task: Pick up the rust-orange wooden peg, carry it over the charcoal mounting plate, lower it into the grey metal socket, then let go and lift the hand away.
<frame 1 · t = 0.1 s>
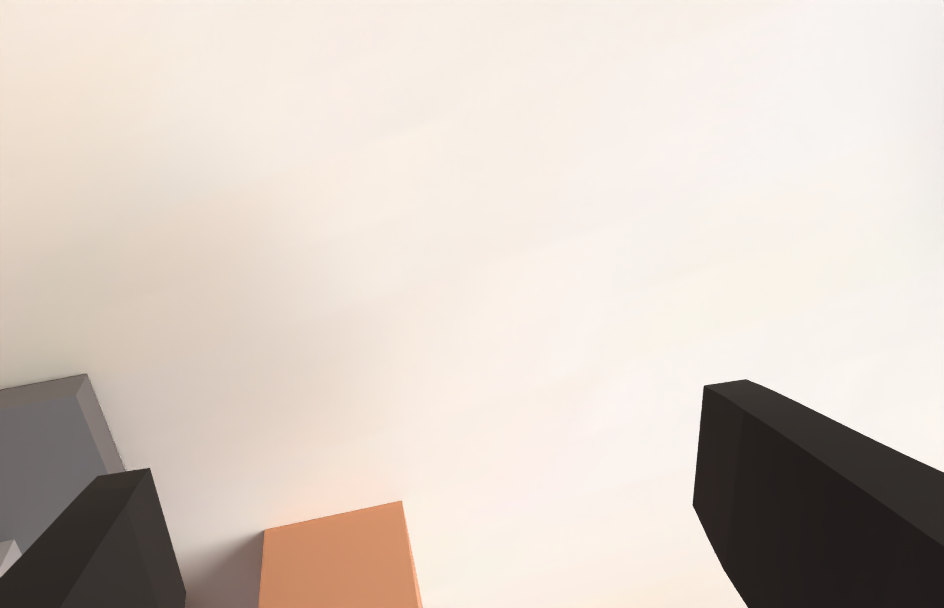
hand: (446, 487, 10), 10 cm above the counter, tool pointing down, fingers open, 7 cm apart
wooden peg: (346, 565, 23), on the counter
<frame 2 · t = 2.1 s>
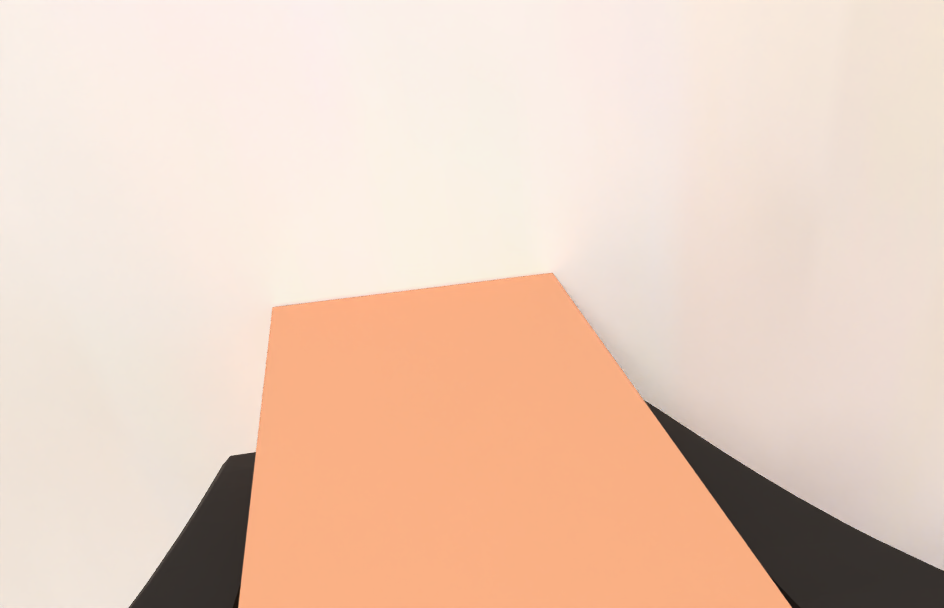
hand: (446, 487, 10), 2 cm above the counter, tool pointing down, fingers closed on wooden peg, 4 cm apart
wooden peg: (426, 408, 12), on the counter, touching gripper
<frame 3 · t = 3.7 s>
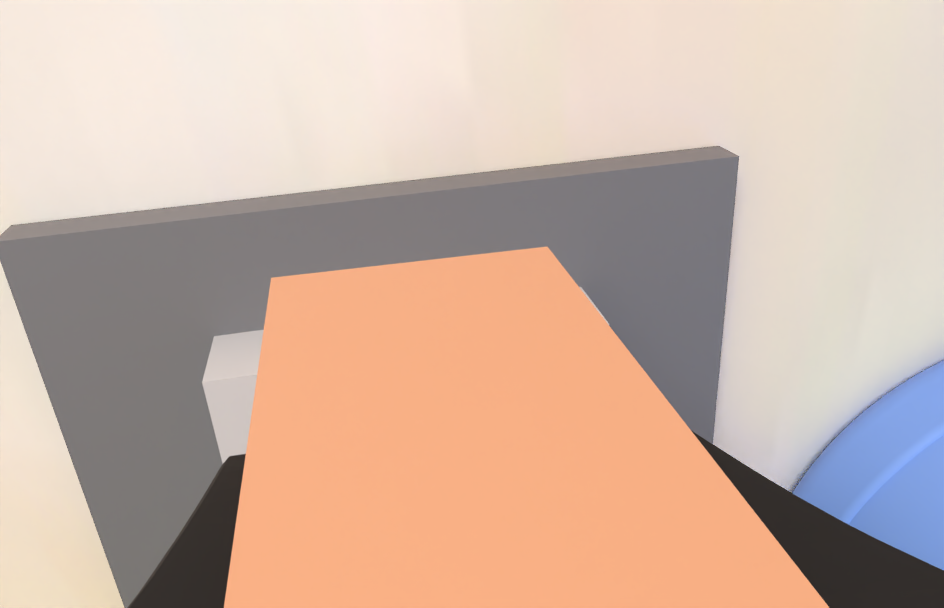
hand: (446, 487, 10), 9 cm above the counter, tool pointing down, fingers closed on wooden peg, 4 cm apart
mounting socket: (415, 437, 20), on the counter
wooden peg: (423, 381, 12), point 7 cm above the counter, touching gripper
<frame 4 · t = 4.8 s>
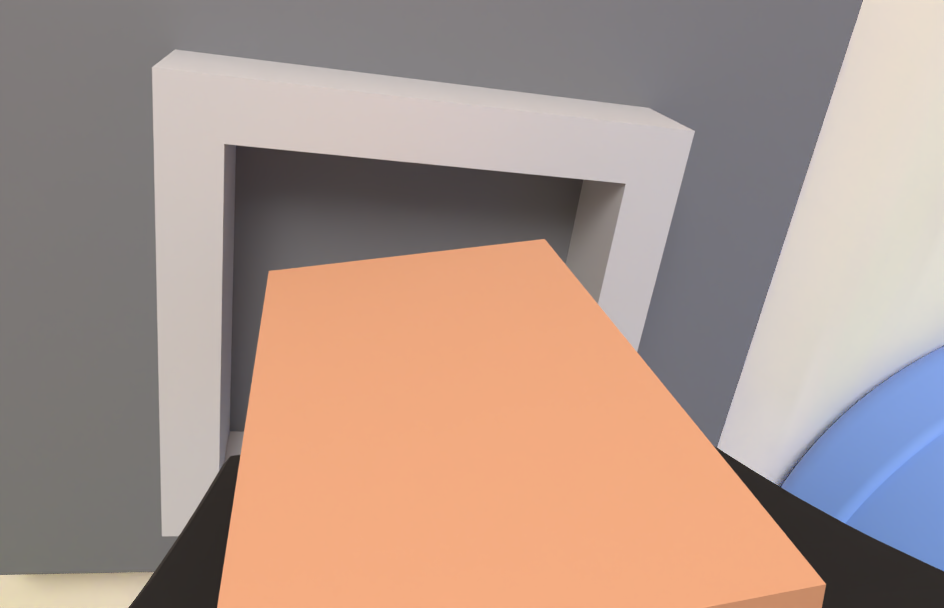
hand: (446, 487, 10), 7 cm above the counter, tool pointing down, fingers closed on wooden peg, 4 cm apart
mounting socket: (397, 278, 16), on the counter
wooden peg: (421, 375, 12), point 5 cm above the counter, touching gripper
when the fingers open (4 cm above the counter, at t = 5.7 s): wooden peg stays where it is, resting on mounting socket.
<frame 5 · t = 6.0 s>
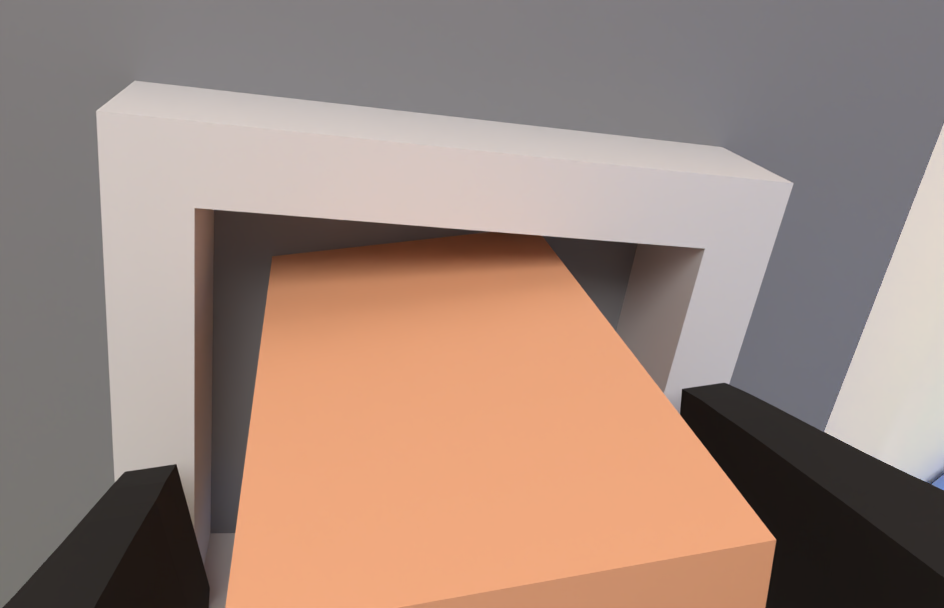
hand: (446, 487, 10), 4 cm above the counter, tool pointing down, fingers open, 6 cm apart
mounting socket: (412, 347, 14), on the counter
wooden peg: (417, 356, 13), point 1 cm above the counter, touching mounting socket
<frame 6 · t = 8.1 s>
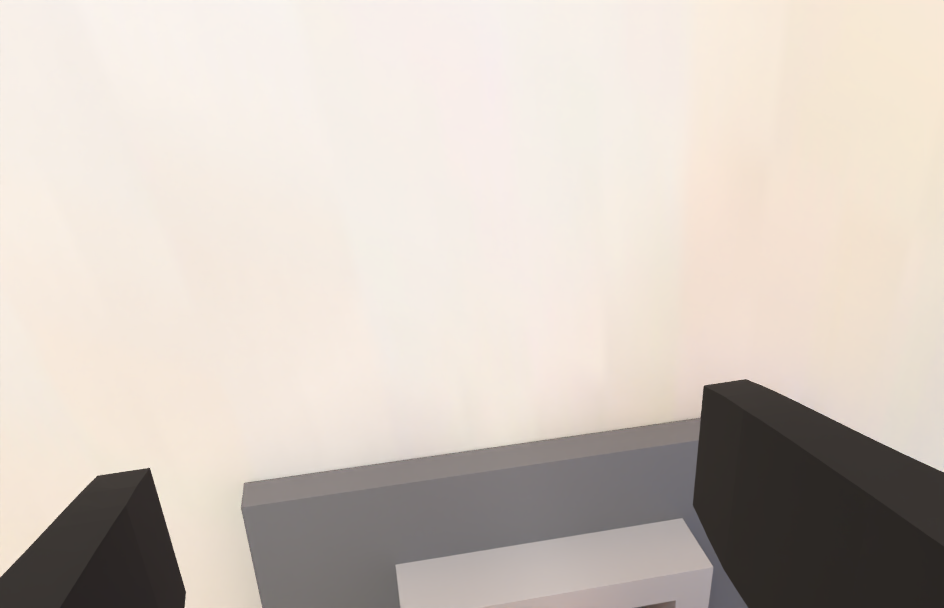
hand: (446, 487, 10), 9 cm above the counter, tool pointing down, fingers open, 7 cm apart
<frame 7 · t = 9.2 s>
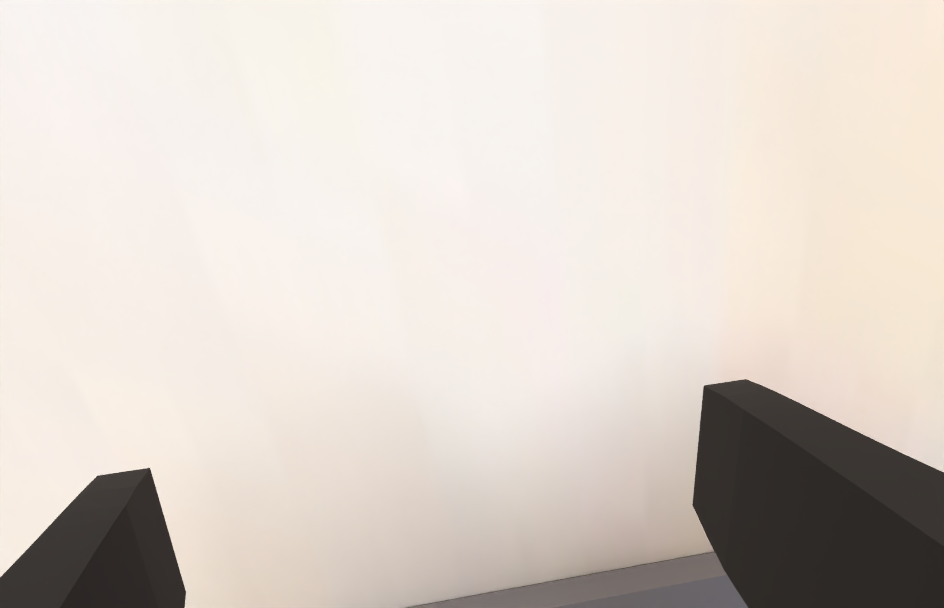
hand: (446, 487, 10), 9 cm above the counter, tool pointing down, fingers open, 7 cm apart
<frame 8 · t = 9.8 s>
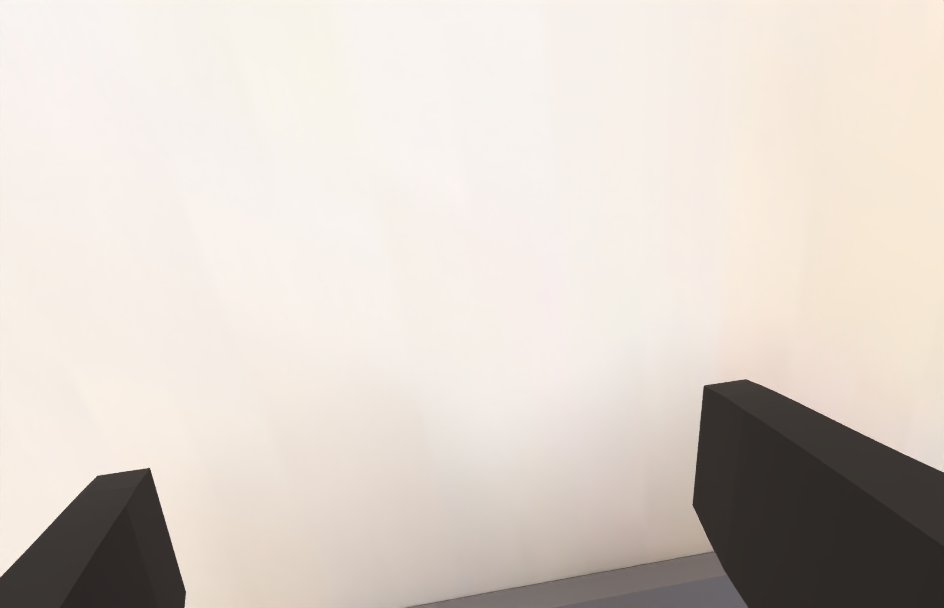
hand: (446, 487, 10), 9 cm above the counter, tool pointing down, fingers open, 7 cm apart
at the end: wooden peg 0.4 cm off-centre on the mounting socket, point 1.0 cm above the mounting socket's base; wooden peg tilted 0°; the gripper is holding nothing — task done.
